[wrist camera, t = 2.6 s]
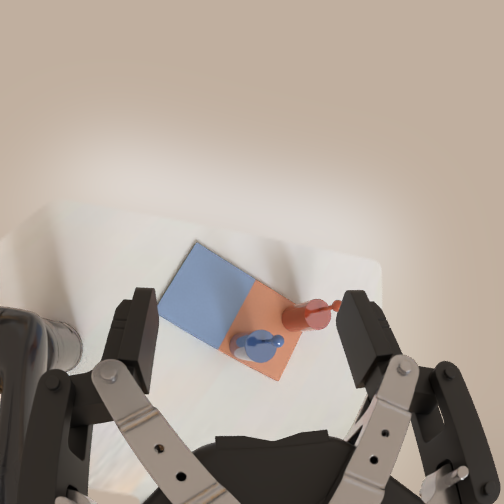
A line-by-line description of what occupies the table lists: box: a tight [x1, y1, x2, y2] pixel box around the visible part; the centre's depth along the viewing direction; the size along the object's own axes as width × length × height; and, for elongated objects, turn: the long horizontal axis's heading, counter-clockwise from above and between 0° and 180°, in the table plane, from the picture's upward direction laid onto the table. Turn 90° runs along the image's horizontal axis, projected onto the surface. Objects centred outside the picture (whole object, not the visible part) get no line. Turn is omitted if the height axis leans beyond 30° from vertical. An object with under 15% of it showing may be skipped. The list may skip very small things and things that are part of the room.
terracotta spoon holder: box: [282, 299, 342, 332], centre depth 58 cm, size 6×6×17 cm
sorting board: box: [157, 242, 302, 381], centre depth 62 cm, size 16×28×1 cm, turn 62°
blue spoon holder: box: [229, 330, 284, 363], centre depth 53 cm, size 6×6×17 cm
